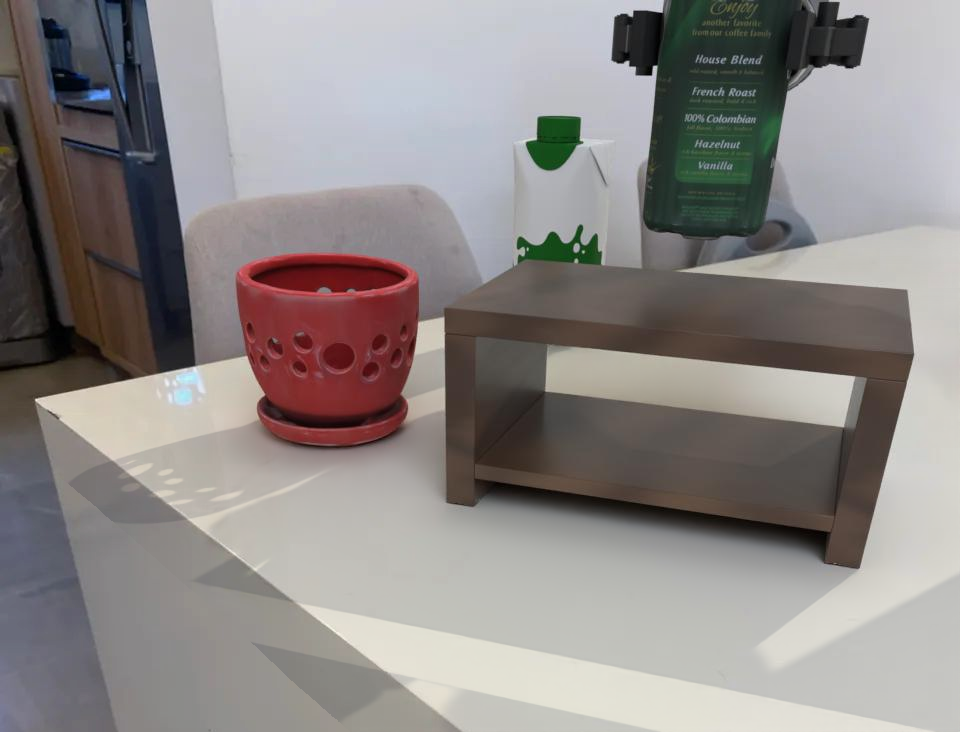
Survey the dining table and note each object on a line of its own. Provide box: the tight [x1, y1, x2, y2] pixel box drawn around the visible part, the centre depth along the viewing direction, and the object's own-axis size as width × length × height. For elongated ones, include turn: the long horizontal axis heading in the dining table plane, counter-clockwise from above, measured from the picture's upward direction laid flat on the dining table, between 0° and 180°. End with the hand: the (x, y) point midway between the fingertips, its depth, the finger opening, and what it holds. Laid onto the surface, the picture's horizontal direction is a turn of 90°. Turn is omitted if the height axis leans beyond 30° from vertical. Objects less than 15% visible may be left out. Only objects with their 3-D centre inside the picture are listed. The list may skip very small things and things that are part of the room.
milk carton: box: [512, 115, 616, 267], centre depth 93 cm, size 9×9×20 cm
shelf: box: [443, 259, 915, 569], centre depth 62 cm, size 26×16×12 cm, turn 70°
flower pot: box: [235, 252, 420, 447], centre depth 71 cm, size 13×13×12 cm
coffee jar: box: [642, 0, 802, 241], centre depth 57 cm, size 10×8×19 cm
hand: (715, 39), depth 52 cm, fingers closed on coffee jar, 8 cm apart
